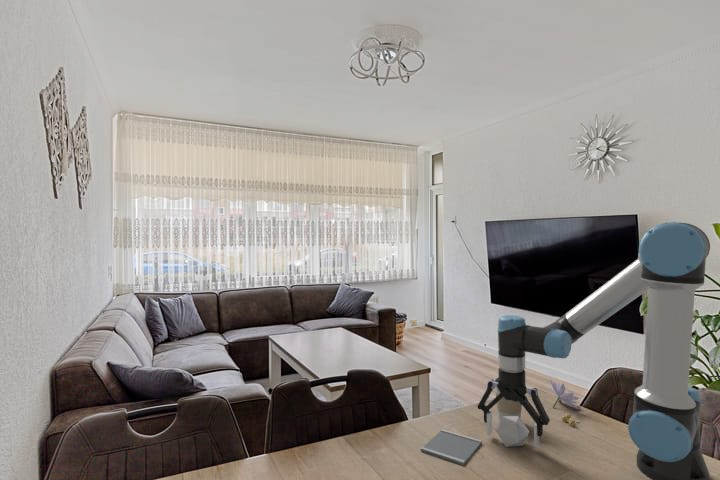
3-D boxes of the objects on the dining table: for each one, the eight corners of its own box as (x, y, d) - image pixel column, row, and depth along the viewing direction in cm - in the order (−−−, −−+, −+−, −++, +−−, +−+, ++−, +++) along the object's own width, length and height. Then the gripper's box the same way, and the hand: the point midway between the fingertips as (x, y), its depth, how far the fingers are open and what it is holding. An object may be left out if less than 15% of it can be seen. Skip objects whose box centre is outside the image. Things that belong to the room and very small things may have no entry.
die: (524, 457, 118) (537, 424, 121) (496, 440, 119) (510, 408, 122) (514, 452, 125) (526, 422, 128) (488, 437, 127) (501, 407, 130)
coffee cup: (489, 419, 140) (488, 374, 140) (509, 413, 144) (508, 370, 144) (509, 430, 132) (508, 383, 132) (530, 424, 136) (529, 378, 136)
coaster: (481, 443, 124) (481, 440, 124) (463, 465, 113) (463, 462, 113) (441, 431, 132) (441, 429, 132) (420, 451, 120) (420, 448, 120)
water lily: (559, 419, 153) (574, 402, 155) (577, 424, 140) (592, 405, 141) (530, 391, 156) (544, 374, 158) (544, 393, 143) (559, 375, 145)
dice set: (572, 428, 134) (572, 422, 134) (558, 422, 138) (558, 416, 138) (582, 425, 136) (582, 419, 136) (568, 419, 141) (568, 413, 141)
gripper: (560, 372, 119) (560, 446, 119) (475, 358, 134) (476, 423, 134) (554, 380, 113) (555, 458, 113) (466, 364, 128) (467, 433, 128)
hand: (512, 439), depth 124 cm, fingers open, 13 cm apart
